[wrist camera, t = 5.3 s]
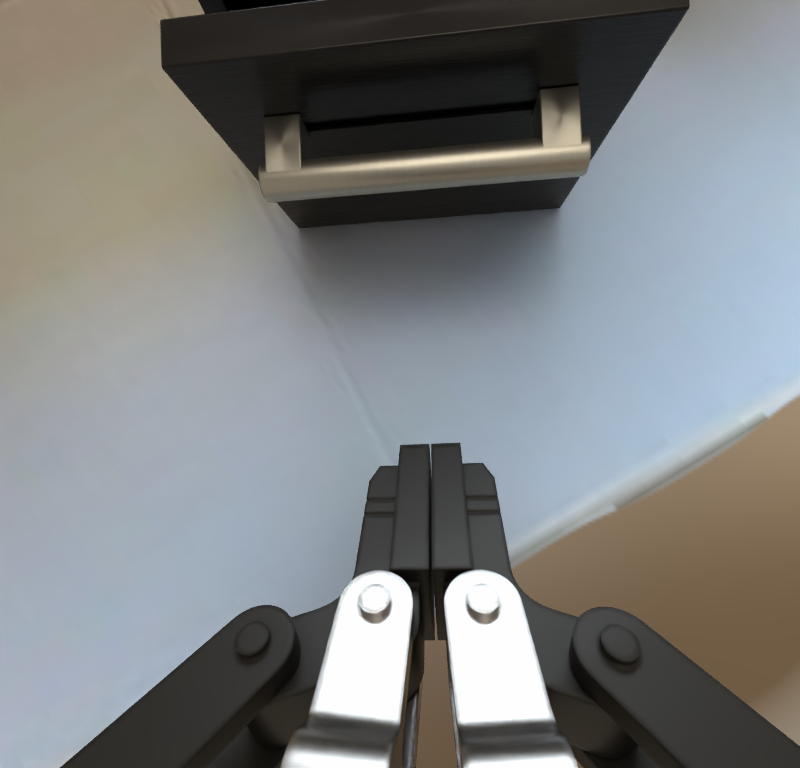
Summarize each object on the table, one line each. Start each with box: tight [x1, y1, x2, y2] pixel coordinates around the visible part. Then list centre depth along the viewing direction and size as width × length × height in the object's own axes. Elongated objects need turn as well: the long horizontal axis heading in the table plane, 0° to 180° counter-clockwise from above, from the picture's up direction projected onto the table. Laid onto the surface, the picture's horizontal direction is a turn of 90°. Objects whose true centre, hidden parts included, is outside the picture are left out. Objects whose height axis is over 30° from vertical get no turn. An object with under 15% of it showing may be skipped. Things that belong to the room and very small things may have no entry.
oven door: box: [160, 0, 689, 228], centre depth 20 cm, size 4×16×14 cm, turn 92°
